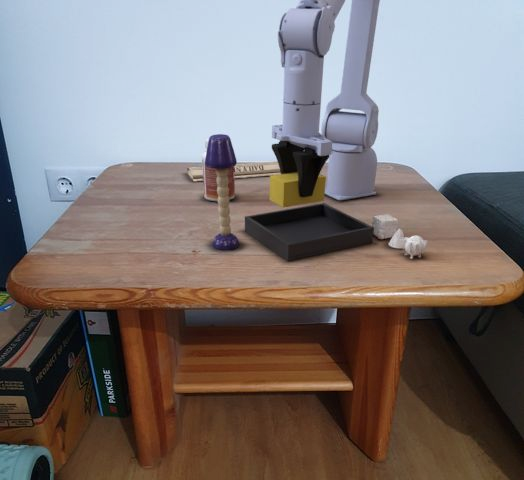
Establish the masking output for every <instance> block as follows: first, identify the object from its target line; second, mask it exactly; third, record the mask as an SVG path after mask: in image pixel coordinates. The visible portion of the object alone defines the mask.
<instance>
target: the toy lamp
mask: <svg viewBox="0 0 524 480" xmlns="http://www.w3.org/2000/svg"><path fill="white" fill-rule="evenodd" d="M208 138H209V141H208V147H207V148H206V151H207V153H206V159H205V164H206V166H207V167H209V168H213V169H216V174H217V179H216V182H217V185H218V187H217V194H218V202H217V204H218V209H217V212H218V215H219V216H218V223H219V233H218V234H216V235H215V237H214V238H213V240H212V247H213V248H215V249H217V250H221V251H230V250H234V249H237V248H238V247H239V246H240V241H239V238H238V237H237V236H236V235H235V234H234V233H232V231H231V230H232V229H231V228H232V227H231V225H230V224H231V217H230V213H231V209H230V208H231V207H230V200H229V197H228V194H229V189H228V186H227V185H228V177H227V174H228V168H231V167H234V166H235V165H236V164H238V163H237V157H236V154H235V153H236V152H235V150H234V146H233V143H232V139H231V137H230V136H229V135H228V134H223V133H218V134H212V135H210V136H209V137H208Z"/></svg>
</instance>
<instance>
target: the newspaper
mask: <svg viewBox="0 0 524 480" xmlns="http://www.w3.org/2000/svg"><path fill="white" fill-rule="evenodd" d="M186 172H187V175H188V177H189V178H190V179H191V180H192V181H193V182H203V167H202V166H194V167H186ZM280 174H281V172H280V168H279V164H278V161H277V160H275V161H264V162H250V163H236V165H235V166H234V179H241V178H242V179H243V178H257V177H267V176H269V177H270V176H272V175H280Z"/></svg>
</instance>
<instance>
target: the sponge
mask: <svg viewBox="0 0 524 480" xmlns="http://www.w3.org/2000/svg"><path fill="white" fill-rule="evenodd" d="M326 184H327V175H326V176H325V175H323V174H321V173H320V174H319V176H318V179H317V182H316V185H315V188H314V191H313V194H312V196H308V197H300V194H299V187H298V172H294V173H287V174H280V175H270V176H269V201H271V202H273V203H274V204H276V205H278V206H280V207H281V208H289V207H295V206H301V205H306V204H312V203H318V202H324V201H325V195H326V194H325V187H326Z"/></svg>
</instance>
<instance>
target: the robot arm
mask: <svg viewBox="0 0 524 480" xmlns="http://www.w3.org/2000/svg"><path fill="white" fill-rule="evenodd" d="M345 2H346V0H299V1H298V3H297V5H296V7H295V8H294V7H293V8H289V9H288V10H287V12H285V13H283V14H282V16H281V17H280V20H279V25H278V31H277V43H278V47H279V52H280V64H281V68H283V94H282V95H283V98H282V104H283V105H282V124H275V125H272V126H271V139H275V140H278V143H272V144H271V150H272V152H273V154H274V156H275V158H276V161H278V164H279V168H280V172H281V174H287V173H294V172H298V187H299V194H300V197H308V196H312V194H313V191H314V188H315V185H316V182H317V179H318V176H319V174H321V171H322V170H323V167H324V166H325V164H326V162H327V175H326V186H325V195H326V196H328V197H331V198H333V199H334V200H337V201H346V200H351V199H352V200H353V199H358V198H363V197H369V196H375V195H377V192H376V191H375V183H376V176H377V170H378V169H377V167H378V158H377V153H376V150H374V148H372V147H373V146H374V145H375V143H376V140H377V135H378V131H379V106H378V105H377V103H376V102H375V101H374V100H373V99H372V98H371V97H370V96H369V95H368V93H367V91H368V86H369V85H368V84H369V78H370V71H371V63H372V57H373V49H374V43H375V42H374V41H375V36H376V35H375V34H376V30H377V29H376V28H377V21H378V16H379V15H378V14H379V7H380V2H381V0H351V4H350V12H349V21H348V29H347V38H346V45H345V54H344V62H343V70H342V78H341V84H340V85H341V86H340V92H339V93H338V94H337V95H335V97H333V98H332V99H330V100H329V101H328V102H327V104H326V107H325V112H324V115H323V119H322V123H321V129H320V122H321V121H320V120H321V108H322V107H321V106H322V93H323V76H324V65H325V64H324V61H325V56H326V55H327V54H328V52H329V51H330V49H331V45H332V41H333V35H334V32H335V29H336V24H335V21H336V19H337V17H338V16H339V13H340V12H341V10H342V8H343V6H344V4H345ZM342 110H353V111H361V112H351V111H342ZM320 130H321V132H320Z"/></svg>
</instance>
